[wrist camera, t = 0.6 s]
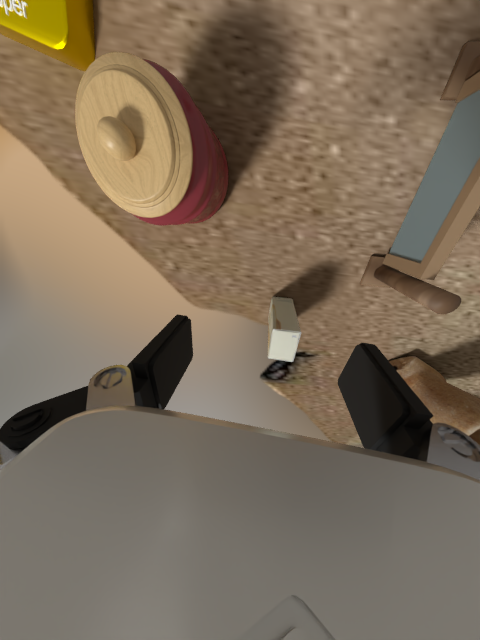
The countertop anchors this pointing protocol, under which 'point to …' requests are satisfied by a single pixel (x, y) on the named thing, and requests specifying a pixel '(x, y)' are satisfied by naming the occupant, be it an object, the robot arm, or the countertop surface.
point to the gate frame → (378, 274)
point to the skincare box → (282, 329)
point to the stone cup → (441, 396)
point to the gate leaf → (443, 193)
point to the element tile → (52, 28)
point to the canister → (149, 142)
